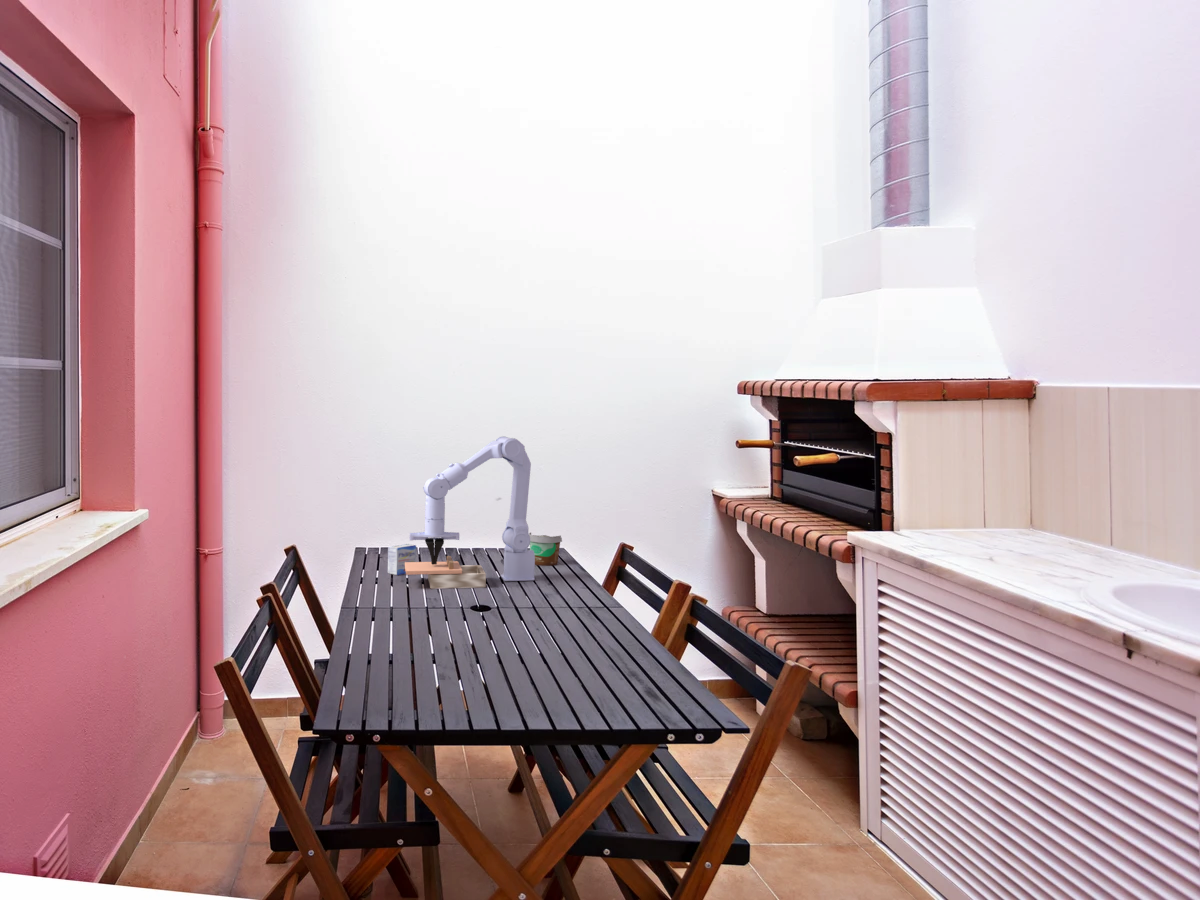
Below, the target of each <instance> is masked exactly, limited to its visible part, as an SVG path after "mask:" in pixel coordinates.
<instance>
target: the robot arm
mask: <svg viewBox="0 0 1200 900" xmlns="http://www.w3.org/2000/svg"><path fill="white" fill-rule="evenodd" d="M490 459H503V460H505V461H506V462H507V463H508V464H509V465H510V466H511V467H512V468H513V469H512V481H511V482H512V483H511V484H512V485H511V495H510V506H509V517H508V519H507V521H506V524H505V529H504V530H503V532H502V536H501V538H502V542H503V544H504V545H505V546H504V548H503V573H502V574H500V577H501V579H502V580H503V582H518V581H519V582H520V581H521V582H522V581H527V582H528V581H535V580H536V579H535V572H536V570H535V568H536V567H535V566H536V565H535V555H534V551H533V550H530V549H528V548H530V536H529V533H530V532H529V525H528V522H527V512H528V501H529V489H530V478H531V466H532V463H531V460H530V458H529V455H528V453H527V452H526V449H525V445H524V444H523V443H522V442H521V441H520V440H518V439H517V438H513V437H507V436H503V435H502V436H499V437H497V438H496V439H495V440H492V441H490V442H489V443H488V444H486V445H485V446H484V447H482V448H481V449H480V450H478V451H477V452H475V453H474V454H473V455H472V456H470V457H469V458H468V459H466V460H465V461H463V462H462V463H460V462H455V463H452V462H451V463H450V464H448V466H447V467H448V468H445V470H443V471H442V472H438V473H436V474H435V477H430V478H428V479H427V480H426V481H425V483H424V486H423V487H422V489H423V492H424V493H425V503H424V506H425V507H424V531H421V532H409V541H425V542H424V543H425V544H426V546H427V549H428V552H429V555H430V562H431V563H432V564H437V562H438V559H439V555H440V552H441V549H442V548H443V545H444V544H445V543H444V542H445V541H446V540H448V541H449V540H455V541H456V540H457V541H460V532H454V531H453V532H452V531H450V532H449V531H445V523H446V522H445V520H446V519H445V516H446V515H445V514H446V511H445V510H446V503H445V502H446V501H445V499H446V496H447V494H448V492H449V491H450V490H452V489H453V488H455V487H456V486H458V485H459V484H461V483H462V482H464V481H465V480H467V478H468V476H469V473H470V472H471V471H472V470H474V469H476V468H478V467H480V466H481V465H483V464H484V463H485V462H488V461H489V460H490Z"/></svg>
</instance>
